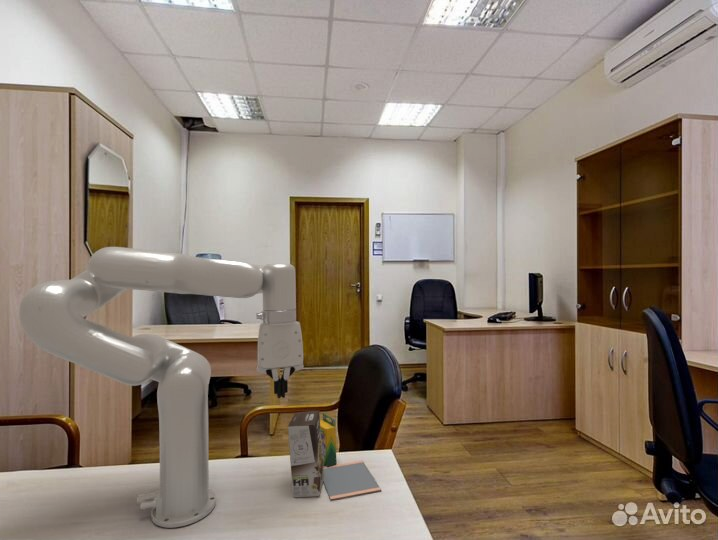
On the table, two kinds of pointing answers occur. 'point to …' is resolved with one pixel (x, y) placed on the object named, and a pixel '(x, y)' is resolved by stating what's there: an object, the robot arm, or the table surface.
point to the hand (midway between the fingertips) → (280, 396)
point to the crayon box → (328, 440)
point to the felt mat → (349, 480)
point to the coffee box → (306, 454)
